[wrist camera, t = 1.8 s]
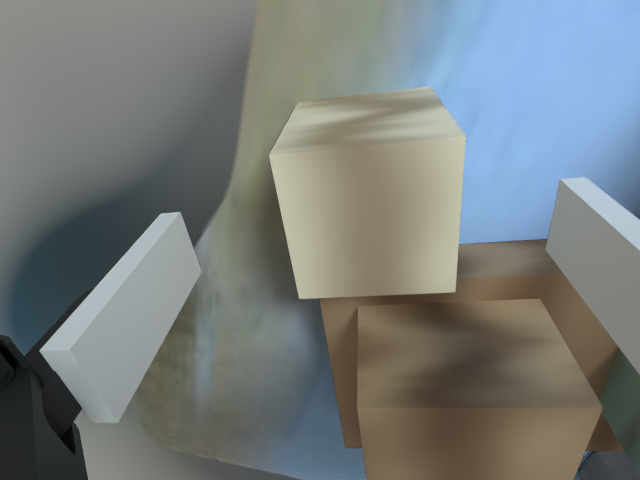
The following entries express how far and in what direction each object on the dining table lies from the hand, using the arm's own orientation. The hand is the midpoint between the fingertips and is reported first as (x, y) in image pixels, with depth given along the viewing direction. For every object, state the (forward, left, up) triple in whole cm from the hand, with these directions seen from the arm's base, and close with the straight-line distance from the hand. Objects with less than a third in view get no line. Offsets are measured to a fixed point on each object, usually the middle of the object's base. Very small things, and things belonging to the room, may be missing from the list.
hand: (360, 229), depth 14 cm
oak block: (0, 0, -7) cm, 7 cm away
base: (-8, +13, -7) cm, 17 cm away
